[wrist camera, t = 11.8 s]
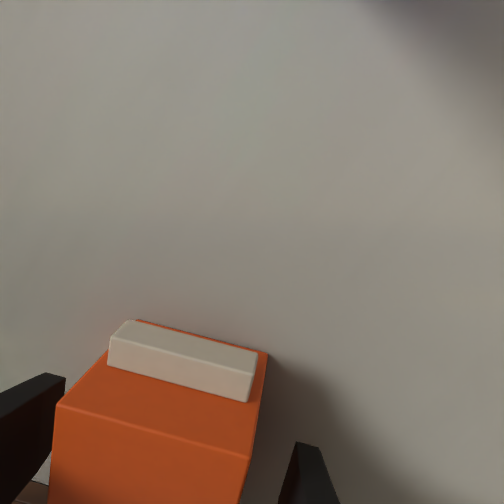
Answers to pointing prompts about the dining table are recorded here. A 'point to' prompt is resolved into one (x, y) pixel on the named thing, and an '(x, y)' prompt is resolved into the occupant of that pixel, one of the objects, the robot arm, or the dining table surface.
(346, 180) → the dining table surface
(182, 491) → the orange block
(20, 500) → the cabinet
